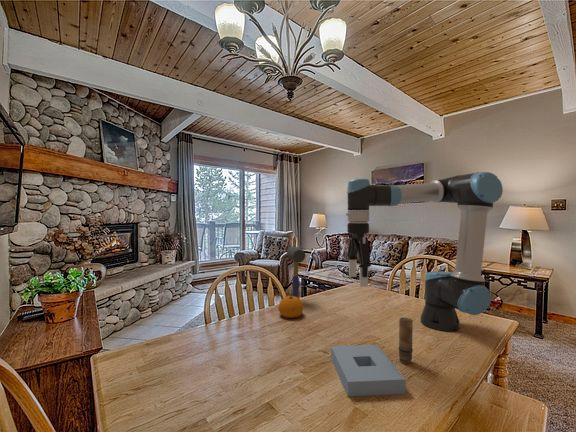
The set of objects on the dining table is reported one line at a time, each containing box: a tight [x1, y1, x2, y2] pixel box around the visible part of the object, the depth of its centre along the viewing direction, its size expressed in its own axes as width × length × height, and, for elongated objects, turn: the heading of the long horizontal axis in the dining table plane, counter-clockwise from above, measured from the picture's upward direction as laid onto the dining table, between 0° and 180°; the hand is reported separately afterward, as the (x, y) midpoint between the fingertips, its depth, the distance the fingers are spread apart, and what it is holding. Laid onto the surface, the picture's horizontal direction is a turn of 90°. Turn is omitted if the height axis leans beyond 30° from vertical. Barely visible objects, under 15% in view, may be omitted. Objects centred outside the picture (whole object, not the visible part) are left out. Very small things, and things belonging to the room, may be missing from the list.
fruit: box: [278, 294, 304, 319], centre depth 136 cm, size 12×12×10 cm
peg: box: [398, 316, 414, 366], centre depth 95 cm, size 4×4×14 cm
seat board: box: [330, 344, 407, 397], centre depth 88 cm, size 16×20×4 cm
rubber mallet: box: [286, 246, 306, 299], centre depth 153 cm, size 12×8×30 cm, turn 16°
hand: (357, 281), depth 104 cm, fingers open, 13 cm apart
